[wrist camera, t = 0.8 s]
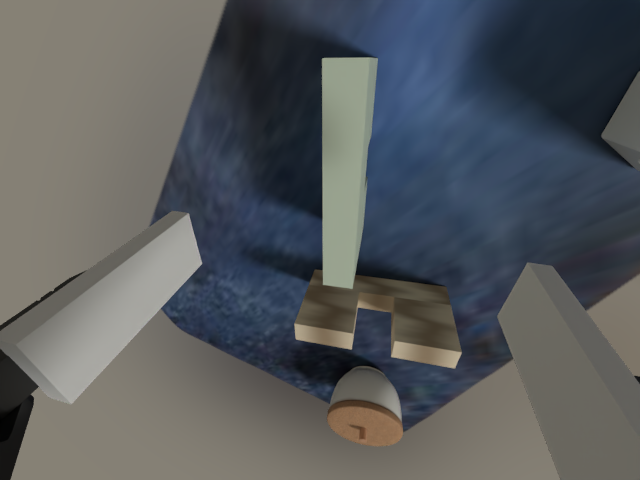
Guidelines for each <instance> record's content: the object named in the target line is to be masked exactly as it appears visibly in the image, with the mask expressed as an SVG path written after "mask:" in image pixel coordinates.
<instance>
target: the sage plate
mask: <svg viewBox="0 0 640 480" xmlns="http://www.w3.org/2000/svg"><path fill="white" fill-rule="evenodd" d="M377 62H378V58H370V57H367V58H322V173H323V285H328V286H335V287H342V288H349V289H353V283H354V278H355V272H356V266H357V260H358V255H359V249H360V243H361V237H362V232H363V223H364V211H365V200H366V188H367V177H366V165H367V153H368V145H369V141H370V138H371V131H372V120H373V108H374V97H375V85H376V74H377Z"/></svg>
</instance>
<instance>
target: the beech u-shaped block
mask: <svg viewBox="0 0 640 480" xmlns="http://www.w3.org/2000/svg"><path fill="white" fill-rule="evenodd" d="M358 307H359V308H366V309H372V310H379V311H385V312H392V317H391V357H395V358H400V359H406V360H411V361H417V362H422V363H428V364H433V365H439V366H444V367H450V368H455V367H456V364H457V362H458V360H459V357H460V355H461V353H462V352H461V347H460V343H459V339H458V335H457V330H456V326H455V322H454V318H453V313H452V309H451V305H450V300H449V296H448V292H447V288H446V287H444V286H436V285H429V284H421V283H413V282H406V281H398V280H391V279H383V278H376V277H368V276H361V275H355V278H354V283H353V289H349V288H342V287H335V286H328V285H323V270H316V269H315V270H314V273H313V276H312V278H311V281H310V284H309V286H308V289H307V292H306V294H305V297H304V300H303V302H302V305H301V308H300V310H299V313H298V316H297V318H296V321H295V334H296V340H302V341H307V342H313V343H318V344H324V345H329V346H335V347H340V348H346V349H351V350H352V344H353V337H354V330H355V323H356V316H357V309H358Z"/></svg>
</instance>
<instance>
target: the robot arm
mask: <svg viewBox="0 0 640 480" xmlns="http://www.w3.org/2000/svg"><path fill="white" fill-rule="evenodd" d="M201 264H202V262H201V258H200V254H199V251H198V247H197V243H196V239H195V236H194V232H193V228H192V224H191V221H190V217H189V213H184V212H177V211H172V212H170V213H169V214H167V215H166V216H165V217H163V218H162V219H160V220H159V221H157V222H156V223H155V224H153V225H152V226H150V227H149V228H147V229H146V230H145V231H143V232H142V233H140V234H139V235H137V236H136V237H134V238H133V239H132V240H130V241H129V242H127V243H126V244H124V245H123V246H121V247H120V248H119V249H117V250H116V251H114V252H113V253H111V254H110V255H109V256H107V257H106V258H104V259H103V260H102V261H100V262H98V263H97V264H96V265H94V266H93V267H91V268H90V269H88V270H86V271H84V272H82V273H80V274H78V275H75V276H73V277H71V278H69V279H68V280H66V281H65V282H63V283H62V284H60V285H59V286H58V287H56V288H55V289H54V291H50V292H49V293H47V294H46V295H44V296H43V297H41V300H40V301H36V302H34V303H33V304H31V305H30V306H28V307H27V308H25V309H24V310H22V311H21V312H20V313H18V314H17V315H15V316H14V317H12V318H11V319H9V320H8V321H6V322H5V323H3V324H2V325H0V480H10V479H11V476H12V472H13V469H14V466H15V463H16V459H17V456H18V453H19V450H20V447H21V443H22V440H23V437H24V434H25V430H26V427H27V424H28V421H29V417H30V414H31V411H32V408H33V404H34V403H33V402H34V397H33V396H32V395H31V393H32V392H33V391H34V390H36V389H37V388H38V387H39V388H40V389H41V390H42V391H43V392H44V393H45V394H46V395H47V396H48V397H50V398H52V399H55V400H59V401H62V402H65V403H69V404H72V403H73V402H74V401H75V400H76V398H78V396H79V395H80V394H81V393H82V392H83V391H84V390H85V389H86V388H87V387H88V386H89V384H91V382H92V381H93V380H94V379H95V378H96V377H97V376H98V375H99V374H100V373H101V372H102V371H103V370H104V368H105V367H106V366H107V365H108V364H109V363H110V362H111V361H112V360H113V359H114V358H115V357H116V356H117V355H118V354H119V352H120V351H121V350H122V349H123V348H124V347H125V346H126V345H127V344H128V343H129V341H131V340H132V338H133V337H134V336H135V335H136V334H137V333H138V332H139V331H140V330H141V329H142V328H143V327H144V326H145V325H146V323H147V322H148V321H149V320H150V319H151V318H152V317H153V316H154V315H155V314H156V313H157V312H158V311H159V309H160V308H161V307H162V306H163V305H164V304H165V303H166V302H167V301H168V300H169V299H170V298H171V297H172V296H173V294H174V293H175V292H176V291H177V290H178V289H179V288H180V287H181V286H182V285H183V284H184V283H185V282H186V280H187V279H188V278H189V277H190V276H191V275H192V274H193V273H194V272H195V271H196V270H197V269H198V268H199V267H200V265H201ZM497 317H498V320H499V322H500V325H501V328H502V330H503V333H504V335H505V338H506V340H507V343H508V346H509V348H510V351H511V353H512V356H513V359H514V361H515V364H516V366H517V369H518V371H519V374H520V376H521V379H522V382H523V384H524V387H525V389H526V392H527V394H528V397H529V400H530V402H531V405H532V408H533V410H534V413H535V415H536V418H537V420H538V423H539V426H540V428H541V431H542V433H543V436H544V438H545V441H546V444H547V446H548V449H549V451H550V454H551V457H552V459H553V462H554V464H555V467H556V469H557V472H558V474H559V477H560V480H640V377H638V376H634V375H633V374H632V373H631V372H630V370H629V369H628V367H627V366H626V365H625V363H624V362H623V361H622V359H621V358H620V357H619V355H618V354H617V353H616V351H615V350H614V349H613V347H612V346H611V345H610V343H609V342H608V340H607V339H606V338H605V337H604V335H603V334H602V333H601V331H600V330H599V328H598V327H597V326H596V324H595V323H594V322H593V320H592V319H591V318H590V316H589V315H588V313H587V312H586V311H585V309H584V308H583V307H582V305H581V304H580V303H579V301H578V300H577V299H576V297H575V296H574V295H573V293H572V292H571V291H570V289H569V288H568V287H567V285H566V284H565V282H564V281H563V280H562V278H561V277H560V276H559V274H558V273H557V272H556V270H555V269H554V268H553V266H548V265H541V264H534V263H527V265H526V266H525V268H524V270H523V272H522V273H521V275H520V277H519V279H518V280H517V282H516V284H515V286H514V288H513V289H512V291H511V293H510V295H509V296H508V298H507V300H506V302H505V303H504V305H503V307H502V309H501V310H500V312H499V314H498V316H497Z"/></svg>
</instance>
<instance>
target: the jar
mask: <svg viewBox="0 0 640 480" xmlns="http://www.w3.org/2000/svg"><path fill="white" fill-rule="evenodd" d="M601 137H602V138H603V139H604V140H605V141H606V142H607V143H608V144H609V145H610V146H611V147H612V148H614V149H615V150H616V151H617V152H618V153H619V154H620V155H621V156H622V157H623V158H624V159H626V160H627V161H628V162H629V163H630V164H631V165H632V166H633V167H634V168H635V169H636V170H638V171H640V71H639V72H638V73H637V75H636V77H635V79H634V80H633V82H632V84H631V85H630V87H629V89H628V90H627V92H626V94H625V96H624V97H623V99H622V101H621V102H620V104H619V106H618V107H617V109H616V111H615V112H614V114H613V116H612V117H611V119H610V121H609V123H608V124H607V126H606V128H605V129H604V131H603V133H602V134H601Z"/></svg>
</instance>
